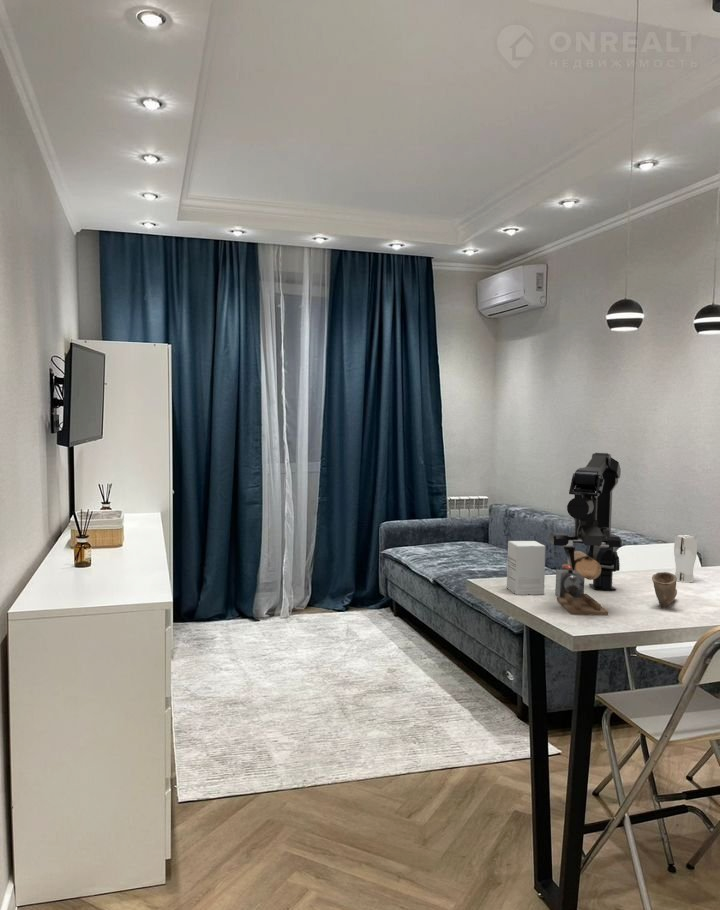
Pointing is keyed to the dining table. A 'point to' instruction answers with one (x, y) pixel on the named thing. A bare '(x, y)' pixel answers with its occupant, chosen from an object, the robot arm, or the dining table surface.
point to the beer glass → (685, 557)
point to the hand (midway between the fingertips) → (583, 570)
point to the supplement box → (526, 567)
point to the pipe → (665, 587)
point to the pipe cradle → (582, 605)
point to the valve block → (569, 582)
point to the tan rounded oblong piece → (586, 565)
